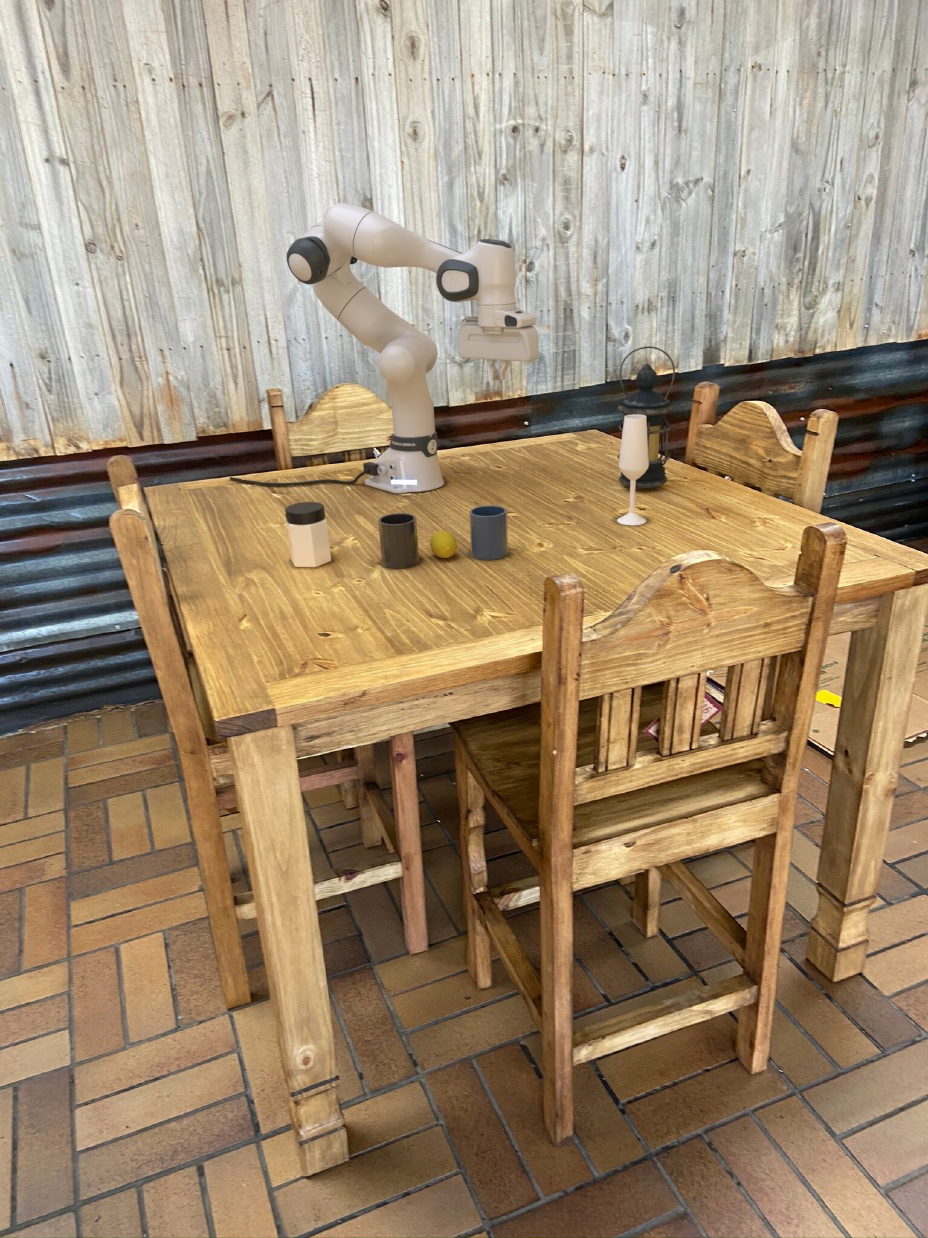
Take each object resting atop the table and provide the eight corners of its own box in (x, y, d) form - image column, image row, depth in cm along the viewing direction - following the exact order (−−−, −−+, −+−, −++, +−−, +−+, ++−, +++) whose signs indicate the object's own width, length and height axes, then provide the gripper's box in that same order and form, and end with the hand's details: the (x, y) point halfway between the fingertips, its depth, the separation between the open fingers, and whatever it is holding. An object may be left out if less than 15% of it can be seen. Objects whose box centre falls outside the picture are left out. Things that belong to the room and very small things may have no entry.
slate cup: (464, 556, 188) (462, 513, 185) (485, 545, 194) (483, 503, 190) (494, 562, 184) (492, 518, 180) (515, 551, 190) (513, 508, 186)
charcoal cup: (374, 564, 186) (370, 521, 182) (398, 553, 192) (395, 511, 188) (402, 571, 182) (399, 527, 178) (426, 559, 188) (423, 516, 184)
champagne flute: (650, 517, 206) (654, 414, 196) (641, 526, 201) (645, 420, 191) (622, 514, 209) (625, 412, 199) (612, 523, 204) (615, 418, 194)
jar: (314, 551, 196) (308, 498, 191) (339, 558, 191) (333, 504, 186) (282, 563, 189) (275, 509, 184) (307, 571, 184) (300, 515, 180)
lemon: (447, 523, 190) (457, 534, 183) (453, 546, 193) (463, 558, 186) (423, 531, 189) (432, 542, 182) (429, 554, 192) (439, 566, 185)
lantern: (606, 490, 228) (609, 349, 213) (626, 477, 238) (630, 342, 223) (659, 497, 220) (666, 351, 206) (678, 483, 231) (685, 344, 216)
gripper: (452, 317, 203) (455, 378, 209) (526, 319, 192) (527, 384, 197) (468, 314, 208) (470, 374, 213) (542, 316, 196) (542, 380, 202)
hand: (498, 379), depth 205 cm, fingers closed
